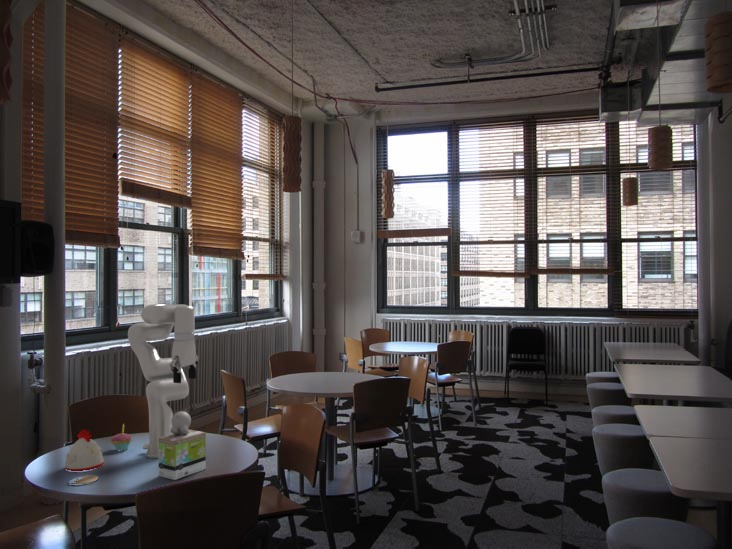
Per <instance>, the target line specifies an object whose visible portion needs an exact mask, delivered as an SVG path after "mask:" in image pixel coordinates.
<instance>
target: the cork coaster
mask: <svg viewBox="0 0 732 549" xmlns="http://www.w3.org/2000/svg"><path fill="white" fill-rule="evenodd" d="M80 476H81V477H82V479H80V480H79V479H78V478H76V479H77V480H78V481H77V480H76V481H74V482H76V483H71V484H87V483H91V482H93V481H96V480H97V479H98V480H99V476H98V475H95V474H85V475H80ZM98 480H97V481H98ZM97 481H96V482H97ZM91 484H92V483H91ZM87 485H88V484H87Z"/></svg>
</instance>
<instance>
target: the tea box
mask: <svg viewBox="0 0 732 549" xmlns="http://www.w3.org/2000/svg"><path fill="white" fill-rule="evenodd" d="M188 430H189V432H188V434H182V433H180V434H178V435H175V434H171V435H167V436H164V437H160V438H159V458H158V477H161V478H164V479H169V480H172V481H173V480H174V481H177V480H178V479H181V478H184V477H186V476H190V475H194V474H196V473H199V472H202V471H205V470H206V469H207V468H206V467H207V464H206V463H207V461H206V460H207V459H206V458H207V454H206V453H207V450H206V449H207V444H206V443H207V442H206V441H207V438H206V436H207V435H206V432H205V431H200V430H193V429H188ZM204 469H205V470H204Z"/></svg>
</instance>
